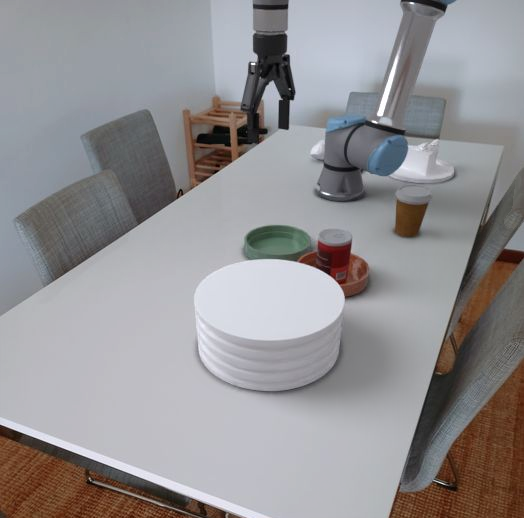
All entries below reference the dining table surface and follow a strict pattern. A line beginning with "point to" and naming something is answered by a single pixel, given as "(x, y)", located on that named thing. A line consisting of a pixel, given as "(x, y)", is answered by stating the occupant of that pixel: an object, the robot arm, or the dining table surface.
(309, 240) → the sage bowl
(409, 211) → the disposable coffee cup
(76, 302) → the dining table surface
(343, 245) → the canned food
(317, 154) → the roll
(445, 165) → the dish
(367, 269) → the terracotta bowl
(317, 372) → the plate stack
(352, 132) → the robot arm
